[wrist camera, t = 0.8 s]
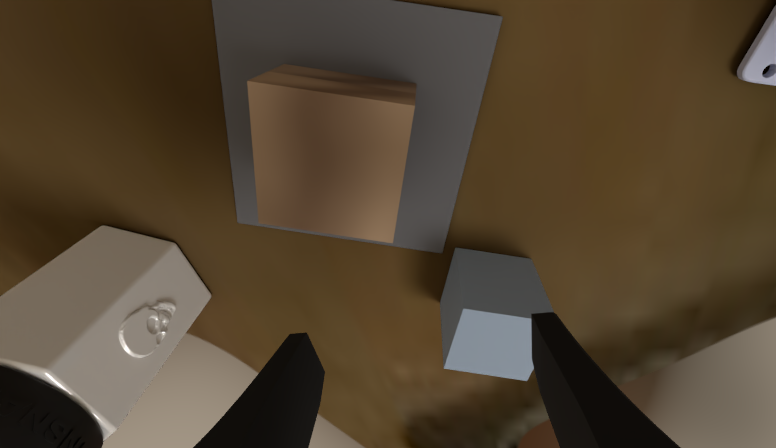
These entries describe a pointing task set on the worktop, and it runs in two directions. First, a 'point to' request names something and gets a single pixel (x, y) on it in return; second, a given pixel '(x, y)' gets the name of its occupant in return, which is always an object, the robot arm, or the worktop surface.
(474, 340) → the blue cube
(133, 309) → the jar
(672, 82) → the worktop surface
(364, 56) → the mat
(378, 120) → the slab upper
